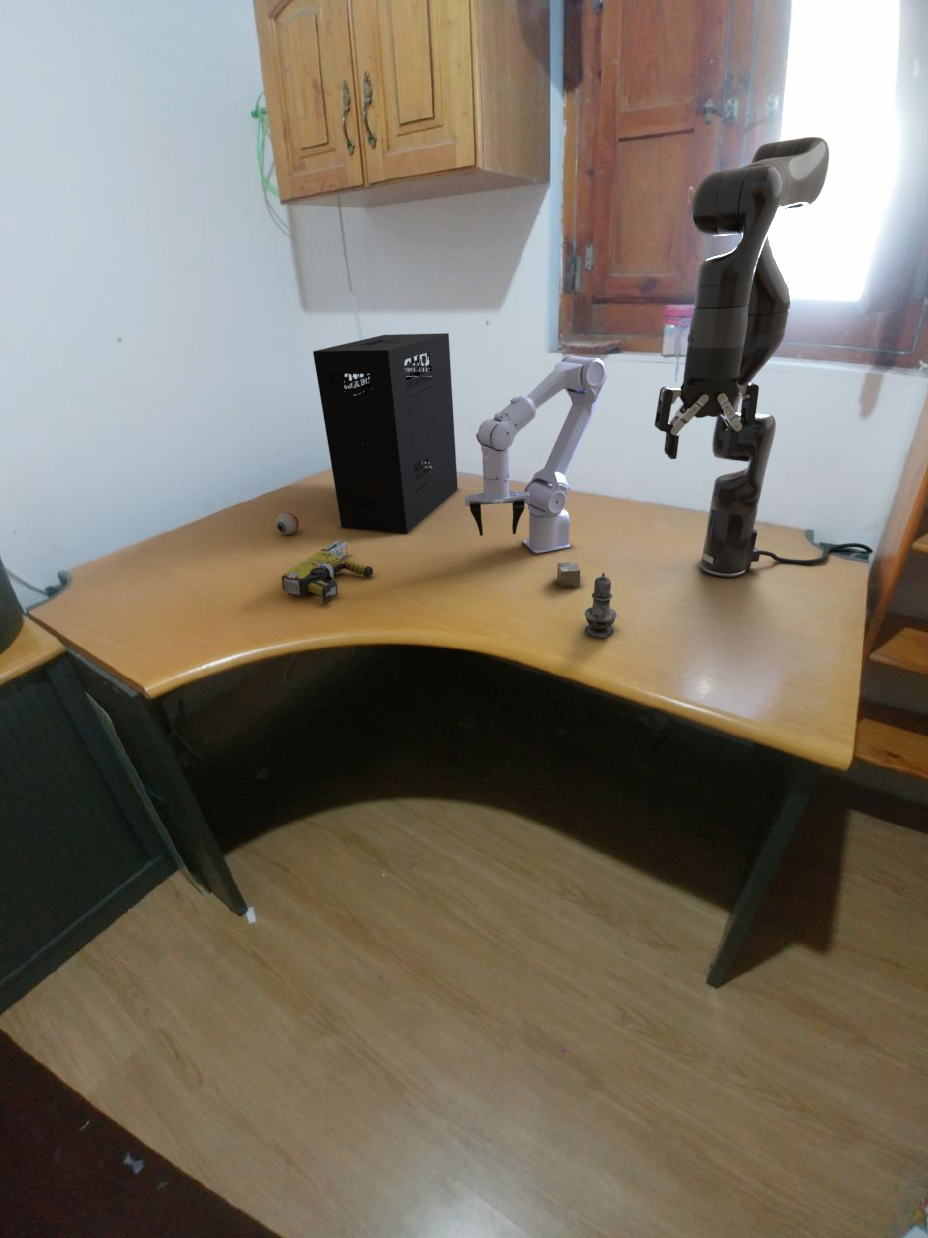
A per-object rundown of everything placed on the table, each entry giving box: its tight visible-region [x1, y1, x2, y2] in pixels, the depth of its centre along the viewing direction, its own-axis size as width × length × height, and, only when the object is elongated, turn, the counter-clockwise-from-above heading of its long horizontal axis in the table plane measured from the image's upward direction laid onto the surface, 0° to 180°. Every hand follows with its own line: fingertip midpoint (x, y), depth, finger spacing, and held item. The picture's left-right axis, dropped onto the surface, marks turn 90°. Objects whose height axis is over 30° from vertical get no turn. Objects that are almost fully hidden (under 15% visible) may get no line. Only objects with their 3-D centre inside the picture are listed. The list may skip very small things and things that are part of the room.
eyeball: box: [275, 511, 300, 536], centre depth 163 cm, size 6×6×6 cm
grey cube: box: [556, 561, 581, 589], centre depth 130 cm, size 4×4×4 cm
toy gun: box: [281, 539, 374, 603], centre depth 138 cm, size 5×24×15 cm
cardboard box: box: [312, 332, 459, 534], centre depth 168 cm, size 38×20×45 cm, turn 159°
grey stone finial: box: [583, 572, 618, 639], centre depth 111 cm, size 6×6×12 cm
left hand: (497, 533), depth 141 cm, fingers open, 7 cm apart
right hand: (699, 456), depth 94 cm, fingers open, 8 cm apart
